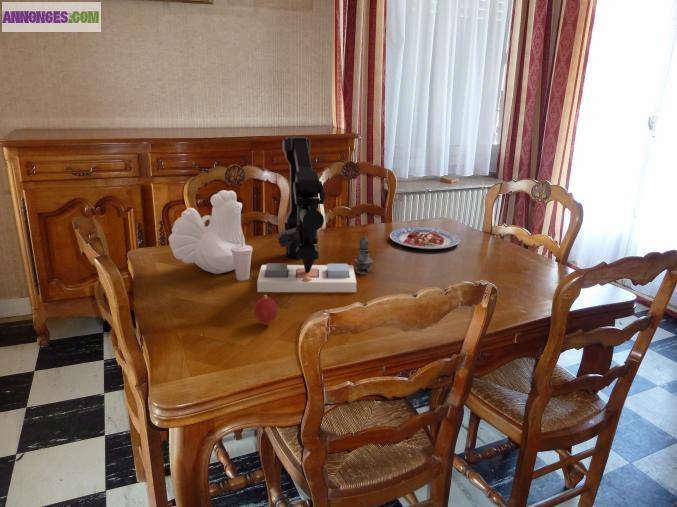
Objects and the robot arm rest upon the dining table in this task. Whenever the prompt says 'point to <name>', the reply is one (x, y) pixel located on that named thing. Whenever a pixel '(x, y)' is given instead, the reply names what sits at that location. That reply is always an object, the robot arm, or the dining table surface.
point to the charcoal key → (276, 270)
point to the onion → (265, 310)
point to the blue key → (337, 271)
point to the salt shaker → (363, 257)
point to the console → (306, 281)
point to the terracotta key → (307, 273)
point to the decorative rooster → (209, 234)
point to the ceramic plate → (424, 238)
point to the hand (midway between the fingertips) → (307, 272)
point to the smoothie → (242, 260)
